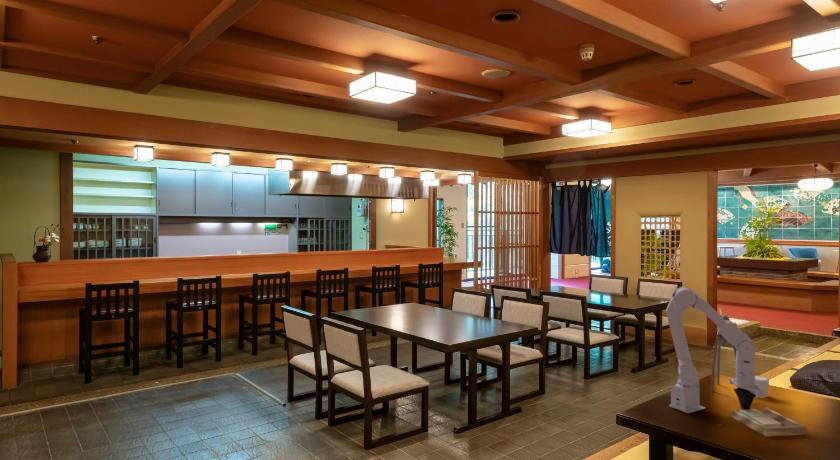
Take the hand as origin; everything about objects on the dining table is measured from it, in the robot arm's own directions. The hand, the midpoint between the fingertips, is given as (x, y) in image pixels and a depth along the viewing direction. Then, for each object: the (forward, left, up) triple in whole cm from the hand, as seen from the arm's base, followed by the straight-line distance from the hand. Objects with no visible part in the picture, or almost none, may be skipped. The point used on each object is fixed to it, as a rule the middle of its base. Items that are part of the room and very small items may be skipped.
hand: (745, 409), depth 180 cm
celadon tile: (-1, -3, -2) cm, 4 cm away
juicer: (+18, +21, -2) cm, 28 cm away
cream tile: (-4, -9, -2) cm, 10 cm away
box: (-3, -9, -1) cm, 9 cm away
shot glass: (+22, +9, -2) cm, 24 cm away
